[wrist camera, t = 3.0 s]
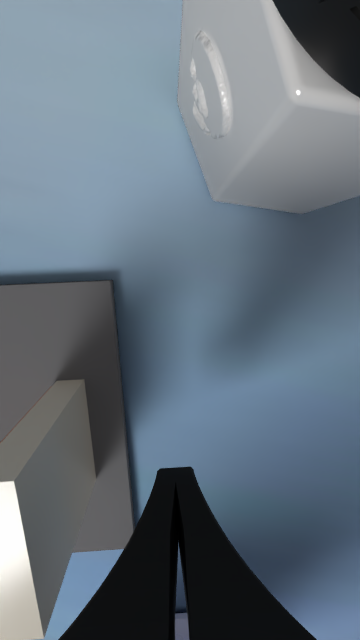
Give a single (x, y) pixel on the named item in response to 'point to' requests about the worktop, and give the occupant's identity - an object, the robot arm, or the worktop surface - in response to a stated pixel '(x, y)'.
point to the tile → (42, 505)
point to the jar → (273, 100)
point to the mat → (72, 364)
